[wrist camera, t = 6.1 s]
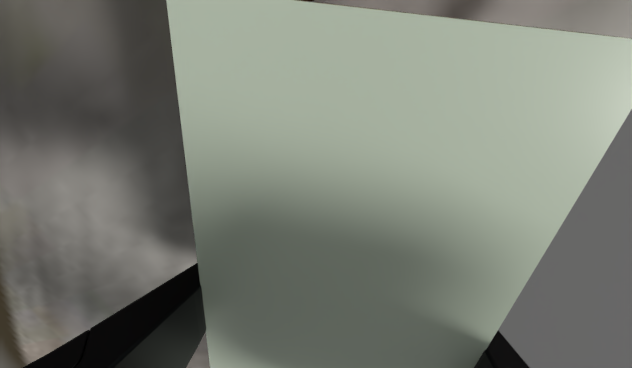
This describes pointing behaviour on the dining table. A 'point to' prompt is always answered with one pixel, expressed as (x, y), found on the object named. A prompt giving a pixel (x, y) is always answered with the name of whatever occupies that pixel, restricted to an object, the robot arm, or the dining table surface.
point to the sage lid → (379, 173)
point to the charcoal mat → (583, 277)
